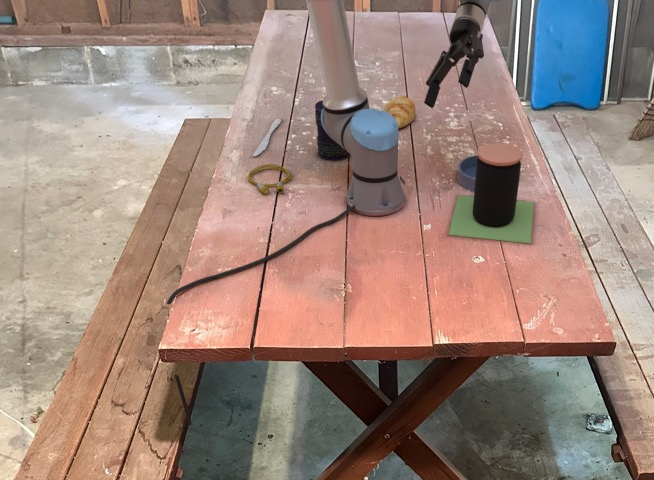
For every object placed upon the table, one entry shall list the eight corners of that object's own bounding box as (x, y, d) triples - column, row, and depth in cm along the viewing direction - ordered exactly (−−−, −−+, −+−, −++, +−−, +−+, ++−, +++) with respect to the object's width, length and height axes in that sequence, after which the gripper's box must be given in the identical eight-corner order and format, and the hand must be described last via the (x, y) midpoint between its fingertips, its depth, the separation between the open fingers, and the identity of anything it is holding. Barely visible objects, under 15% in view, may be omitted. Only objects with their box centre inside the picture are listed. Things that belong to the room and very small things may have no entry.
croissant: (405, 142, 221) (417, 122, 216) (377, 127, 219) (388, 106, 214) (411, 114, 237) (423, 94, 232) (385, 99, 235) (396, 79, 230)
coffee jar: (510, 206, 183) (518, 142, 171) (517, 228, 174) (526, 162, 163) (469, 207, 182) (474, 143, 171) (474, 229, 174) (480, 162, 163)
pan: (507, 197, 187) (508, 185, 185) (450, 187, 192) (450, 175, 189) (520, 171, 199) (522, 159, 196) (466, 162, 203) (467, 150, 201)
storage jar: (313, 149, 210) (310, 101, 200) (345, 144, 212) (343, 96, 203) (323, 163, 202) (320, 114, 193) (355, 158, 205) (354, 109, 196)
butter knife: (284, 118, 226) (275, 117, 226) (259, 156, 205) (249, 155, 205) (284, 120, 226) (275, 119, 226) (259, 158, 205) (249, 157, 206)
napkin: (530, 244, 169) (530, 242, 169) (448, 235, 172) (448, 234, 172) (533, 203, 185) (533, 202, 184) (458, 195, 188) (458, 194, 188)
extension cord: (238, 193, 189) (237, 186, 188) (256, 166, 201) (255, 160, 200) (281, 196, 187) (281, 190, 186) (297, 169, 199) (296, 163, 198)
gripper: (511, 14, 170) (490, 83, 163) (447, 57, 191) (426, 120, 184) (489, -5, 167) (466, 65, 160) (426, 41, 187) (404, 105, 180)
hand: (445, 95), depth 172 cm, fingers open, 13 cm apart
